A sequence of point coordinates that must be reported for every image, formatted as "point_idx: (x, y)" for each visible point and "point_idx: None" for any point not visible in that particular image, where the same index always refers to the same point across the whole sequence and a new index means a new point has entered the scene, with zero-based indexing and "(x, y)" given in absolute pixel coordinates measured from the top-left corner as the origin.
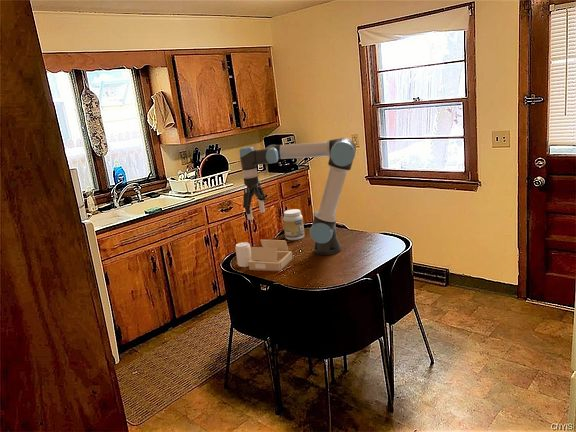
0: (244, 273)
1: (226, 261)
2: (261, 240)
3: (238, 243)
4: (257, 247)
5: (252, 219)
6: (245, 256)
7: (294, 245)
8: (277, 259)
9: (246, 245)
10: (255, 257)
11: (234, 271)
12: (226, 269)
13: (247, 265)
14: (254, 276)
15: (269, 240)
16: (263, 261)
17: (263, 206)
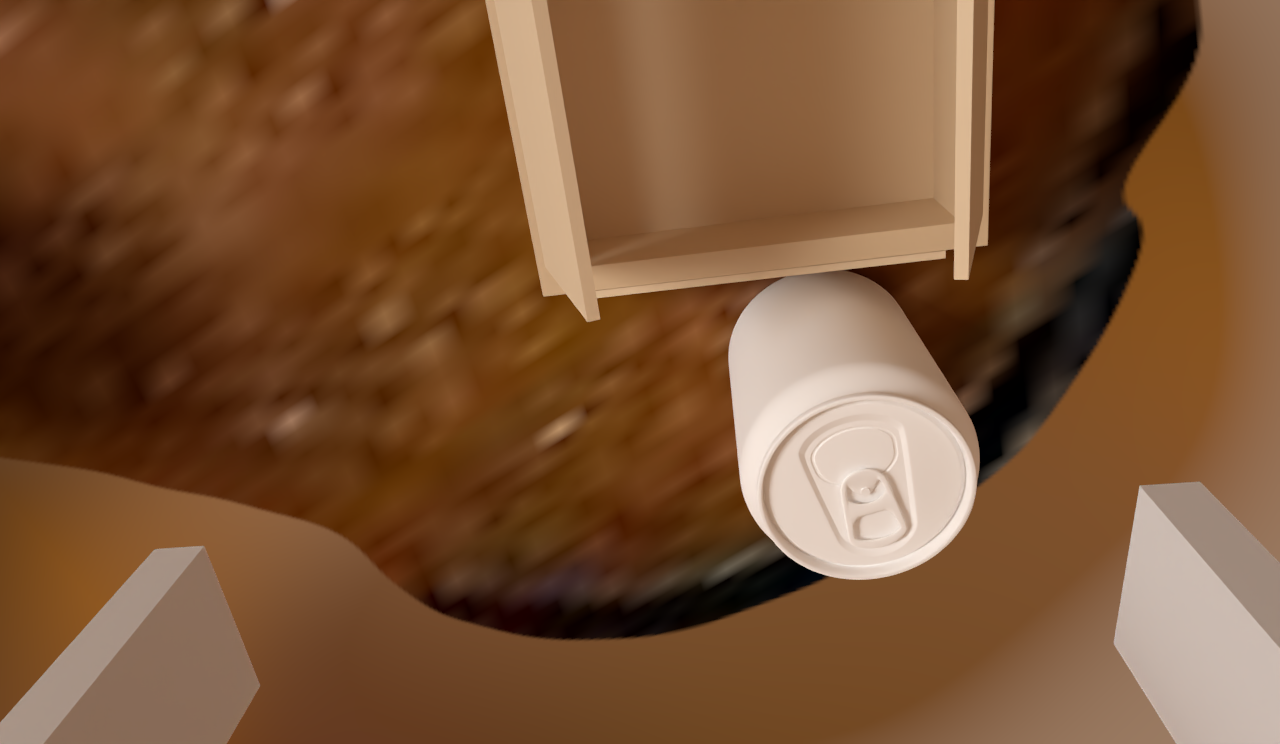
0: (1074, 206)
1: (766, 600)
2: (594, 299)
3: (833, 570)
4: (971, 147)
5: (1194, 487)
6: (920, 341)
7: (23, 84)
8: (581, 6)
9: (909, 399)
10: (981, 144)
11: (1025, 362)
12: (978, 480)
13: (882, 289)
14: (1164, 6)
15: (567, 137)
16: (697, 169)
17: (58, 733)
